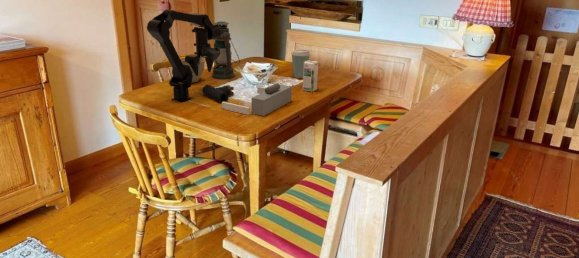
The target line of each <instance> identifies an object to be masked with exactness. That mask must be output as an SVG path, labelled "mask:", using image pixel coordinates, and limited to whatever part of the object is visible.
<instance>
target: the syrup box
mask: <svg viewBox="0 0 579 258" xmlns="http://www.w3.org/2000/svg"><path fill="white" fill-rule="evenodd" d="M318 75H319V61H315V60H314V61H313V60H310V59H309V60H308V61H305V62H304V71H303V78H302V91H306V92H307V91H308V92H311V93H312V92H315V91H317V89H318Z"/></svg>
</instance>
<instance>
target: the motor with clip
mask: <svg viewBox="0 0 579 258" xmlns="http://www.w3.org/2000/svg"><path fill="white" fill-rule="evenodd" d="M256 90H257V91H256V92H257V95H254V96H252V97H251V109H250V106H245V105H239V104H235V103H231V102H228V101H227V102H222V103H221V109H222V110H226V111H231V112H235V113H240V114H244V115H247V116H249V115H250V113H251V114H254V115H259V116H263V117H264V116H266V115H268V114H270V113H271V112H275V110H277V109H279V108H281V107H283V106H285V105H286V104H288V103H290V102H292V93H293V92H292V91H293V88H292V86H291V85H286V84H279V83H277V82H276V83H273V84H271V85H269V86H267V87H265V86H264V87H262V86H257V89H256ZM250 111H251V112H250Z"/></svg>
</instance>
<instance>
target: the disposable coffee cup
mask: <svg viewBox="0 0 579 258" xmlns="http://www.w3.org/2000/svg"><path fill="white" fill-rule="evenodd" d="M310 56H311V52H310V50H309V49H294V50H292V51H291V61H292V62H291V63H292V71H293V72H292V73H293V76H294V78H297V79H303V71H304V62H305V61H308V60H309V61H310Z"/></svg>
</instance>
